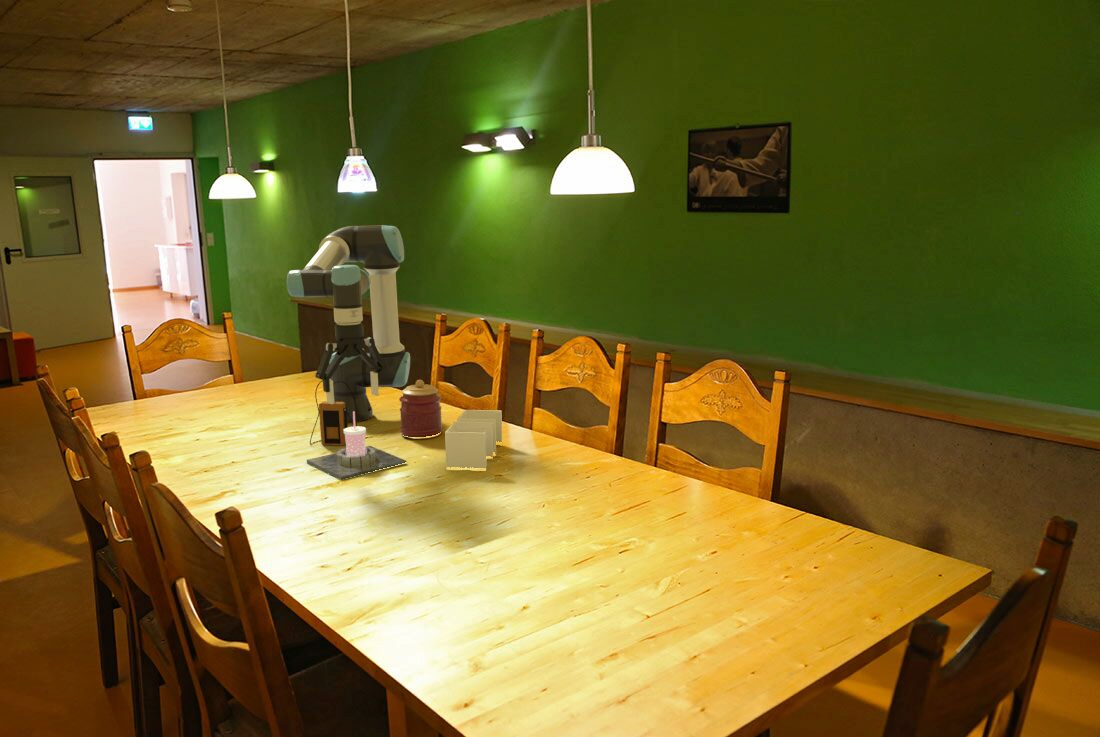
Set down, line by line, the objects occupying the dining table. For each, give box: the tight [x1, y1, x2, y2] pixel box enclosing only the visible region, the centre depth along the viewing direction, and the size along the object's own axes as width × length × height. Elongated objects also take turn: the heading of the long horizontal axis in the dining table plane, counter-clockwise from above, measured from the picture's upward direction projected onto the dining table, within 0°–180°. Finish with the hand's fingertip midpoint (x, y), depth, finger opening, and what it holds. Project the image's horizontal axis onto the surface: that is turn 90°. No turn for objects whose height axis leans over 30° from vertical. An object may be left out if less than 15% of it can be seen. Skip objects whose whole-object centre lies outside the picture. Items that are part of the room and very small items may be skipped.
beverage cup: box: [343, 411, 367, 456], centre depth 229 cm, size 6×6×14 cm
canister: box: [398, 379, 443, 437], centre depth 258 cm, size 13×13×18 cm
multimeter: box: [309, 379, 358, 447], centre depth 250 cm, size 15×10×20 cm
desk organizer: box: [444, 409, 503, 468], centre depth 234 cm, size 25×11×11 cm, turn 173°
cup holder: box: [306, 445, 407, 481], centre depth 230 cm, size 20×20×4 cm
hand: (353, 399), depth 227 cm, fingers open, 13 cm apart
